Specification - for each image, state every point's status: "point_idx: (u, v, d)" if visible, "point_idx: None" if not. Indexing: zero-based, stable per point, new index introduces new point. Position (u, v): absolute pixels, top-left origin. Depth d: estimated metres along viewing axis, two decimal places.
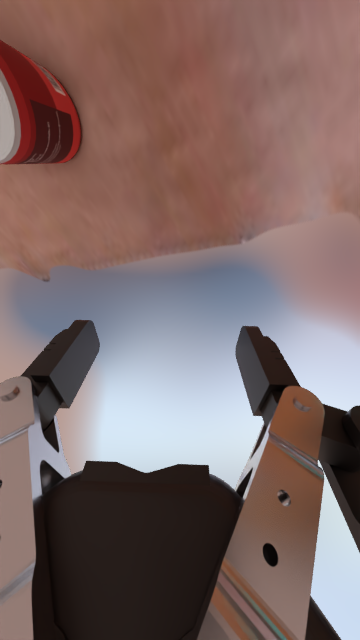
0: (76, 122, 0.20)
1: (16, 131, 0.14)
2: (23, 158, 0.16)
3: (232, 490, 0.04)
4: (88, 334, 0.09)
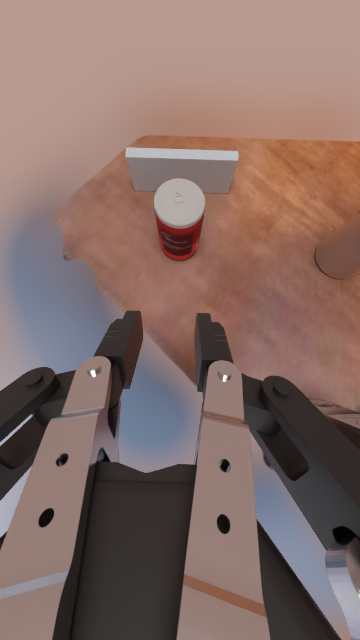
0: (188, 256, 0.36)
1: (181, 226, 0.27)
2: (167, 231, 0.28)
3: (185, 482, 0.05)
4: (138, 323, 0.10)
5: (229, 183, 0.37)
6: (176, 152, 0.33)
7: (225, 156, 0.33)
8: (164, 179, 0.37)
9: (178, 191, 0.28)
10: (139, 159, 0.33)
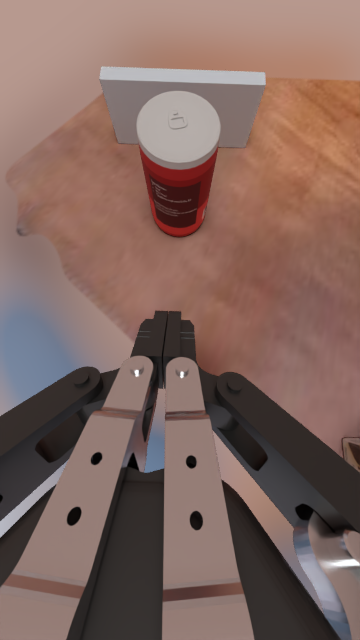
0: (192, 229, 0.25)
1: (181, 164, 0.16)
2: (159, 178, 0.18)
3: None
4: None
5: (249, 129, 0.27)
6: (174, 74, 0.22)
7: (246, 78, 0.22)
8: None
9: (177, 111, 0.17)
10: (120, 84, 0.23)
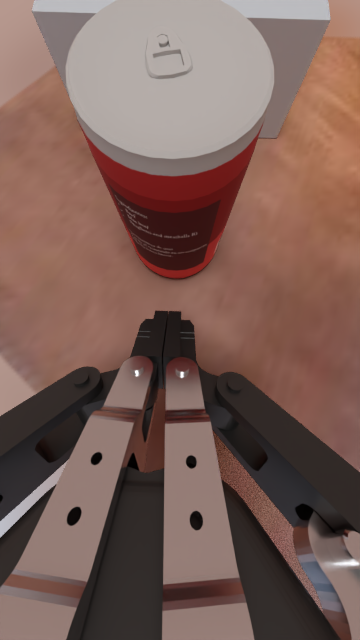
0: (197, 270, 0.16)
1: (178, 164, 0.06)
2: (128, 194, 0.08)
3: None
4: None
5: (287, 107, 0.17)
6: None
7: (294, 9, 0.12)
8: None
9: (168, 40, 0.07)
10: (70, 21, 0.13)
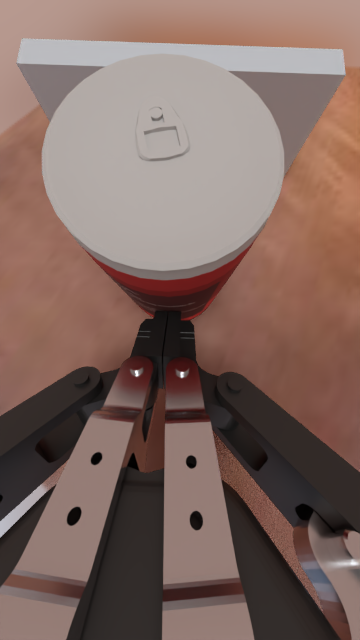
0: (195, 316, 0.15)
1: (169, 273, 0.05)
2: (116, 278, 0.07)
3: None
4: None
5: (295, 152, 0.16)
6: (165, 53, 0.11)
7: (306, 62, 0.11)
8: None
9: (163, 112, 0.06)
10: (59, 73, 0.12)
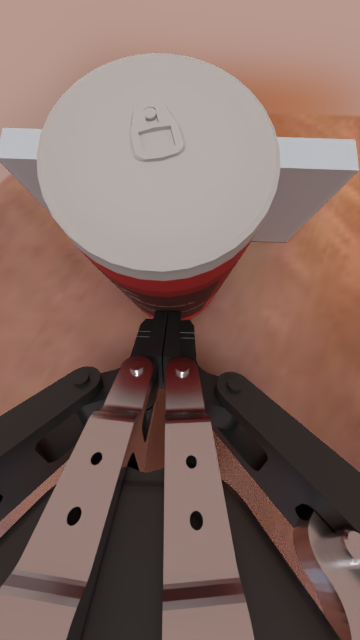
0: (195, 315, 0.15)
1: (169, 273, 0.05)
2: (115, 280, 0.07)
3: None
4: None
5: (300, 224, 0.15)
6: None
7: (315, 155, 0.10)
8: None
9: (156, 112, 0.06)
10: None
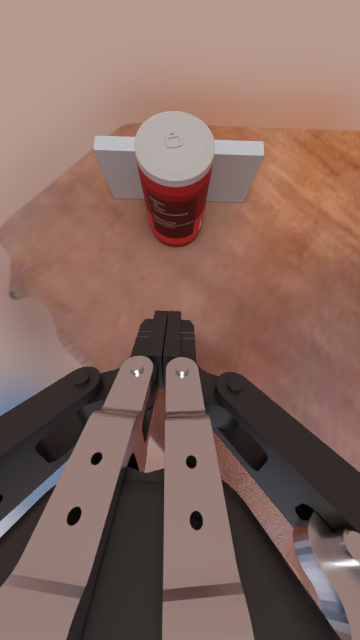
0: (189, 239, 0.26)
1: (179, 182, 0.17)
2: (157, 194, 0.19)
3: None
4: None
5: (247, 188, 0.26)
6: None
7: (244, 148, 0.22)
8: None
9: (173, 131, 0.18)
10: (115, 153, 0.22)
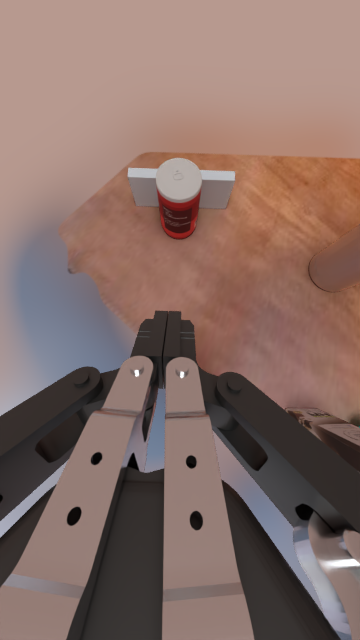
0: (187, 234, 0.39)
1: (181, 200, 0.30)
2: (168, 206, 0.31)
3: None
4: None
5: (227, 200, 0.39)
6: None
7: (222, 176, 0.35)
8: None
9: (178, 169, 0.31)
10: (141, 179, 0.35)
